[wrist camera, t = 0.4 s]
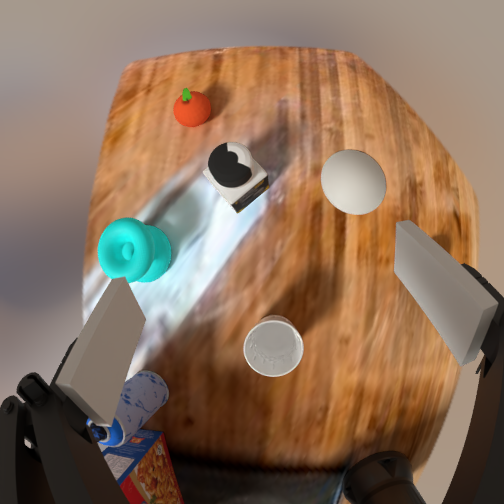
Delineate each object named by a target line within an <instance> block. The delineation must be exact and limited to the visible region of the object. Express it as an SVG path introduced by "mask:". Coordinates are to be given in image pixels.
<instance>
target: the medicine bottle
mask: <svg viewBox="0 0 504 504" xmlns="http://www.w3.org/2000/svg"><path fill="white" fill-rule="evenodd" d="M203 173H204V175H205V176H206V177H207V179H208V180H209V181H210V183H211V184H212V185H213V187H214V188H215V189H216V190H217V191H218V192H219V194H220V195H221V196H222V197H223V198H224V199H225V200H226V202H227V203H228V204H229V205H230V206H231V207H232V209H233V210H234V211H235V212H236V213H239V212H241V211H242V210H243V209H244V208H245V207H247V206H248V205H249V204H250V203H251V202H253V201H254V200H255V199H256V198H257V197H259V196H260V195H261V194H262V193H263V192H265V191H266V190H267V189H268V188H269V182H268V174H267V172H266V171H265V170H264V169H263V168H262V167H261V166H260V165H259V164H258V163H257V162H256V161H255V160H254V159H253V158H252V156H251V153H250V151H249V150H248V149H247V148H246V147H245V146H244V145H242V144H240V143H237V142H227V143H224V144H221V145H219V146H218V147H216V148H215V149H214V150H213V152H212V153H211V155H210V157H209V161H208V167H207V168H206V169H205V170H204V171H203Z"/></svg>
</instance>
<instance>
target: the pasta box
mask: <svg viewBox="0 0 504 504" xmlns="http://www.w3.org/2000/svg"><path fill="white" fill-rule="evenodd" d="M102 454H103V456H104V458H105V460H106V462H107V464H108V466H109V468H110V470H111V471H112V473H113V475H114V477H115V479H116V481H117V482H118V484H119V486H120V488H121V489H122V491H123V493H124V494H125V496H126V498H127V499H128V501H129V502H130V504H184V501H183V498H182V495H181V492H180V489H179V486H178V482H177V479H176V476H175V473H174V469H173V466H172V462H171V459H170V455H169V452H168V448H167V444H166V440H165V436H164V432H160V431H152V430H144V429H139V430H138V431H137V432H136V433H135V434H134V435H133V436H132V437H131V438H130V439H129V440H128V441H127V442H126V443H125V444H123V445H121V446H119V447H109V446H108V448H106V449H105V450H104V451H103V452H102Z"/></svg>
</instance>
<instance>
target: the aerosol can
mask: <svg viewBox="0 0 504 504" xmlns="http://www.w3.org/2000/svg"><path fill="white" fill-rule="evenodd" d="M168 398H169V390H168V386H167V385H166V383H165V381H164V380H163V379H162V378H161V377H160V376H159V375H158V374H156V373H155V372H152V371H148V370H143V371H140V372H138V373H136V374H135V375H134V376H133V377H132V378H130V379H129V380H127V381H126V382H125V383H124V386H123V389H122V392H121V395H120V399H119V402H118V406H117V409H116V412H115V416H114V419H113V423H112V427H108V426H99V425H96V424H95V423H94V422H93V421H92V420H90V419H89V418H88V420H87V423H86V424H87V425H89V427H90V428H91V430H92V432H93V435H94V437H95V439H96V441H97V442H99V443H101V444H103V445H106V446H109V447H119V446H121V445H123V444H125V443H126V442H127V441H128V440H129V439H130V438H131V437H132V436H133V435H134V434H135V433H136V432H137V431H138V430H139V429H140V428H141V427H142V426H143V425H144V424H145V423H146V422H147V421H148V420H149V419H150V417H151V416H152V415H153V414H154V413H155V412H156V411H157V410H158V409H159V408H160V407H162V406H163V405H164V404H165V403H166V402H167V400H168Z"/></svg>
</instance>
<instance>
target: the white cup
mask: <svg viewBox="0 0 504 504" xmlns="http://www.w3.org/2000/svg"><path fill="white" fill-rule="evenodd" d="M303 349H304V347H303V341H302V338H301V336H300V334H299V332H298V331H297V329H296V328H295V326H294V325H293V324H292V323H291V322H290V321H289V320H288V319H287V318H285V317H283V316H281V315H269V316H267V317H264V318H262V319H261V320H260V321H259V322H258V323H256V324H255V326H254V327H253V328H252V329H251V331H250V332H249V333H248V335H247V337H246V339H245V342H244V355H245V358H246V360H247V362H248V364H249V365H250V366H251V368H252V369H254V370H255V371H256V372H258V373H260V374H262V375H265V376H271V377H276V376H282V375H285V374H287V373H289V372H291V371H292V370H293V369H294V368H295V367H296V366H297V365H298V364H299V362H300V360H301V358H302V355H303Z"/></svg>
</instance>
